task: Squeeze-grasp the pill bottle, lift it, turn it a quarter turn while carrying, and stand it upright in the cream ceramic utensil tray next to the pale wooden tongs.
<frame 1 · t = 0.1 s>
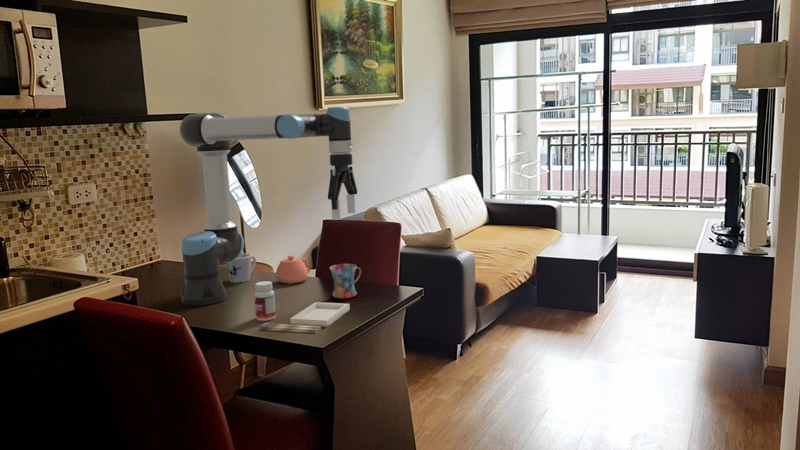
hand: (344, 216, 221), 28 cm above the table, fingers open, 13 cm apart
pink teapot: (294, 281, 250), on the table
mug: (348, 296, 225), on the table
pill bottle: (266, 318, 202), on the table
tongs: (290, 329, 190), on the table
mug 2: (244, 279, 256), on the table
tray: (321, 317, 201), on the table
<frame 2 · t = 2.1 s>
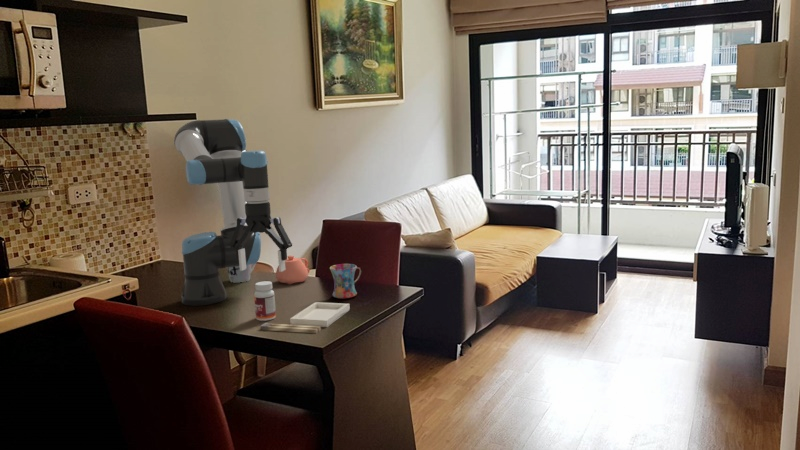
hand: (262, 270, 200), 15 cm above the table, fingers open, 13 cm apart
nothing on the table moved.
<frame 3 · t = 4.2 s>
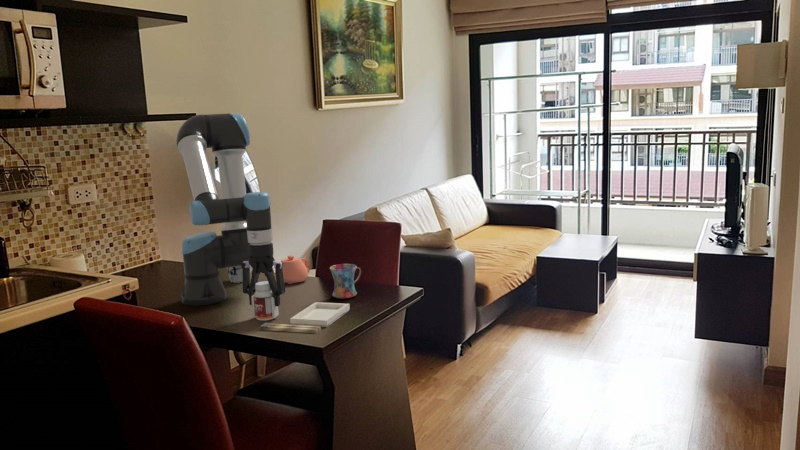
hand: (265, 315, 202), 1 cm above the table, fingers closed on pill bottle, 6 cm apart
pill bottle: (266, 318, 202), on the table, touching gripper
everything else where it was.
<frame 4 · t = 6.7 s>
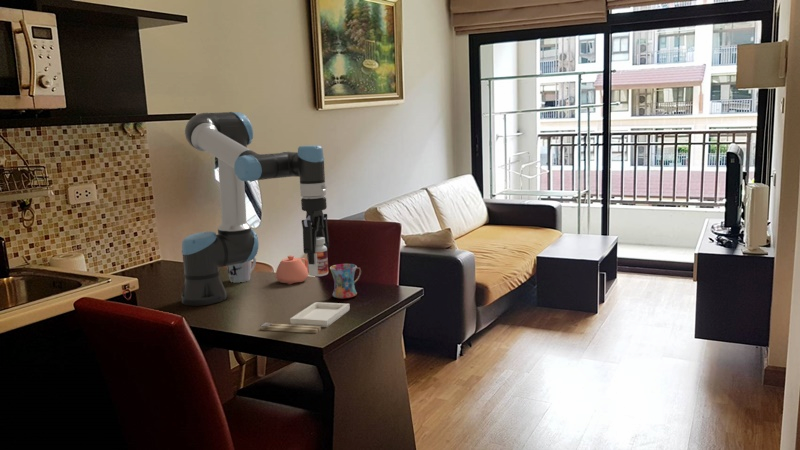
hand: (318, 271, 199), 15 cm above the table, fingers closed on pill bottle, 6 cm apart
pill bottle: (318, 275, 199), point 13 cm above the table, touching gripper
everything else where it was.
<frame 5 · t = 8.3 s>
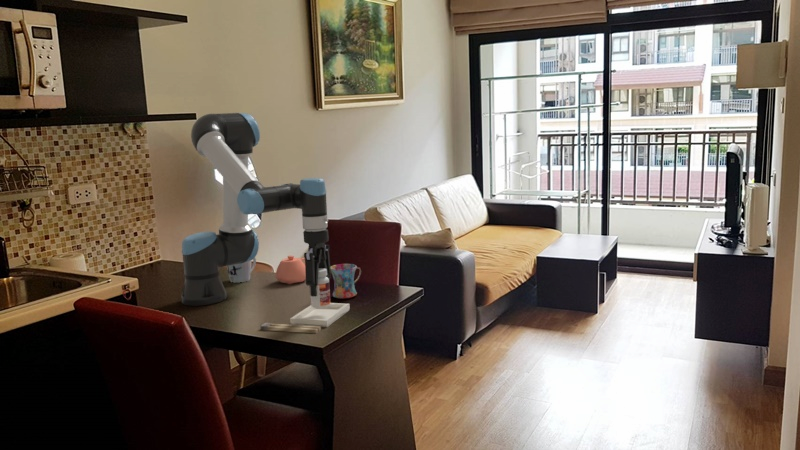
hand: (320, 302, 200), 5 cm above the table, fingers closed on pill bottle, 6 cm apart
pill bottle: (320, 306, 201), point 4 cm above the table, touching gripper
everything else where it was.
when the fingers open (3 cm above the table, at t = 9.4 s): pill bottle drops 1 cm, resting on tray.
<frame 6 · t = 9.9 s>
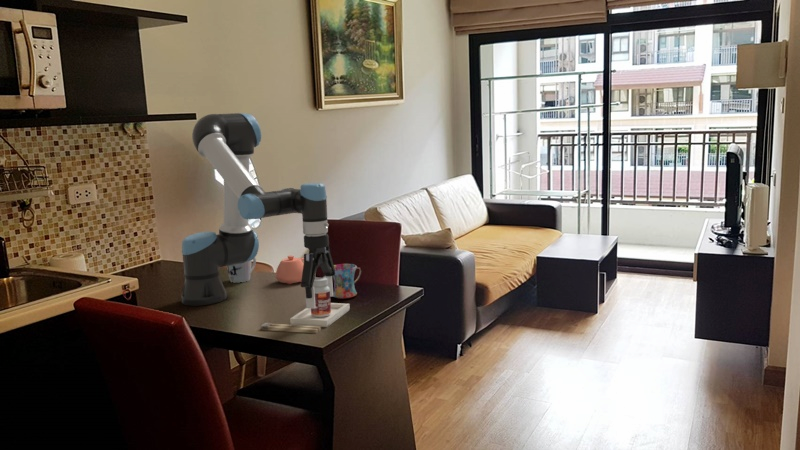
hand: (320, 302, 200), 5 cm above the table, fingers open, 13 cm apart
pill bottle: (321, 315, 201), point 1 cm above the table, touching tray
everything else where it was.
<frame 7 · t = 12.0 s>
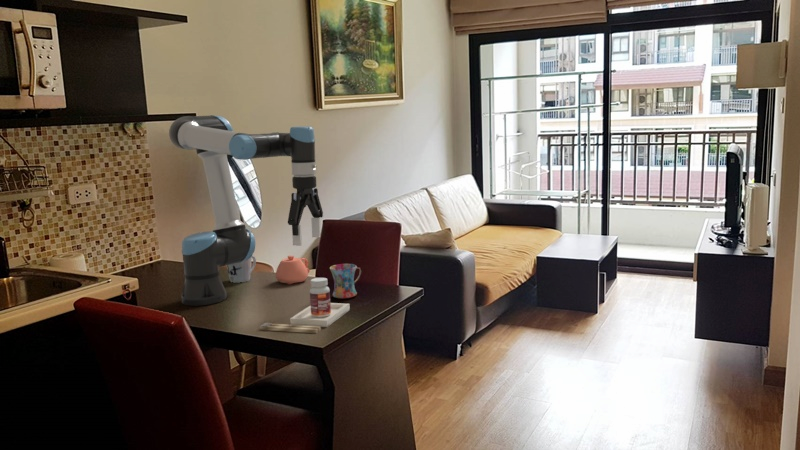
hand: (307, 241, 209), 22 cm above the table, fingers open, 13 cm apart
nothing on the table moved.
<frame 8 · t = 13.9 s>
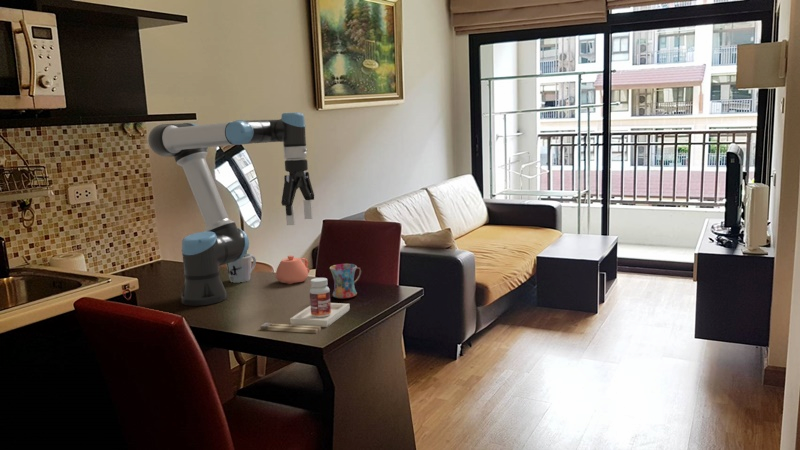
hand: (300, 221, 220), 27 cm above the table, fingers open, 13 cm apart
nothing on the table moved.
at the end: pill bottle inside the target area on the tray (0.1 cm from its centre), point 0.4 cm above the tray's base; pill bottle tilted 1°; the gripper is holding nothing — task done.
